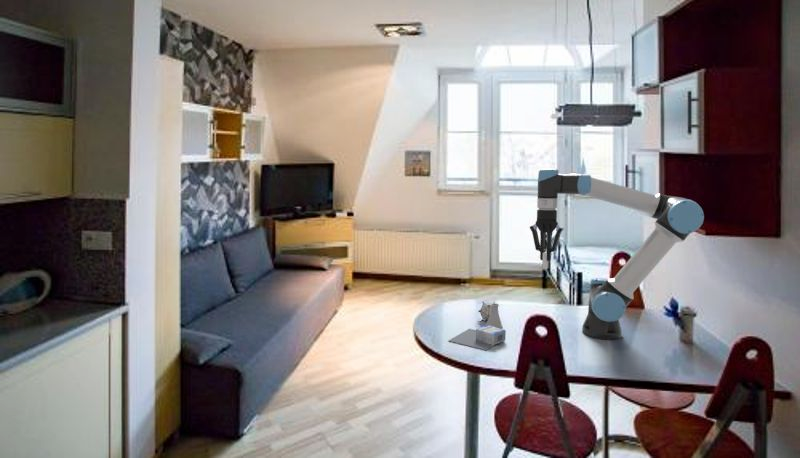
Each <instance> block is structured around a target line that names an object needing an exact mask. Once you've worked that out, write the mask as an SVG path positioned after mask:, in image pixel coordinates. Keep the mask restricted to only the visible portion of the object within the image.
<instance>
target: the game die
mask: <svg viewBox="0 0 800 458" xmlns="http://www.w3.org/2000/svg"><path fill="white" fill-rule="evenodd" d="M493 303H496V302H495V301H494V302H493ZM491 304H492V303H489V302H488V303H486V302H484V301H482V305H481V308H480V309H478V311H477V312H478V313H480V315H481V317H482V319H481V321H482V322H484V320H487V321H488V319H489V316H490V314H491V310H492V306H491Z"/></svg>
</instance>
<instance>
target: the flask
mask: <svg viewBox="0 0 800 458" xmlns="http://www.w3.org/2000/svg"><path fill="white" fill-rule="evenodd" d="M490 304H491V306H492V310H491V314H490V316H489V319H488V320H487V321H486V324H485V326H487V325H490V326H493V327H496V328H500V329H503V324H502V321H501V318H500V314H499V307H500V306H499V305H500V304H499V303H496V302H495V303H494V302H493V303H490Z"/></svg>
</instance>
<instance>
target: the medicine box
mask: <svg viewBox="0 0 800 458" xmlns="http://www.w3.org/2000/svg"><path fill="white" fill-rule="evenodd" d="M475 330H476V340H478V341H481V342H485V343H488V344H491V345H494V346H495V345H497V344H500V343H502V342H505V341H506V335H507V334H506V333H507V332H506V331H507V330H505V329H504V328H502V329H500V328H496V327H493V326H490V325H487V326H486V325H485V326H482V327H478V328H476V329H475Z"/></svg>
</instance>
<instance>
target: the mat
mask: <svg viewBox="0 0 800 458" xmlns="http://www.w3.org/2000/svg"><path fill="white" fill-rule="evenodd" d="M448 342H450V343H454V344H458V345H462V346H467V347H469V348H474V349H478V350H482V351H489V349H490V348H492V347H493V346H495V345H491V344H488V343H485V342H481V341H478V340H476V329H472V328H468V329H467V330H464V331H463V332H461V333H459V334H457V335H456V336H454V337H452V338H451V339H448Z"/></svg>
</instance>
